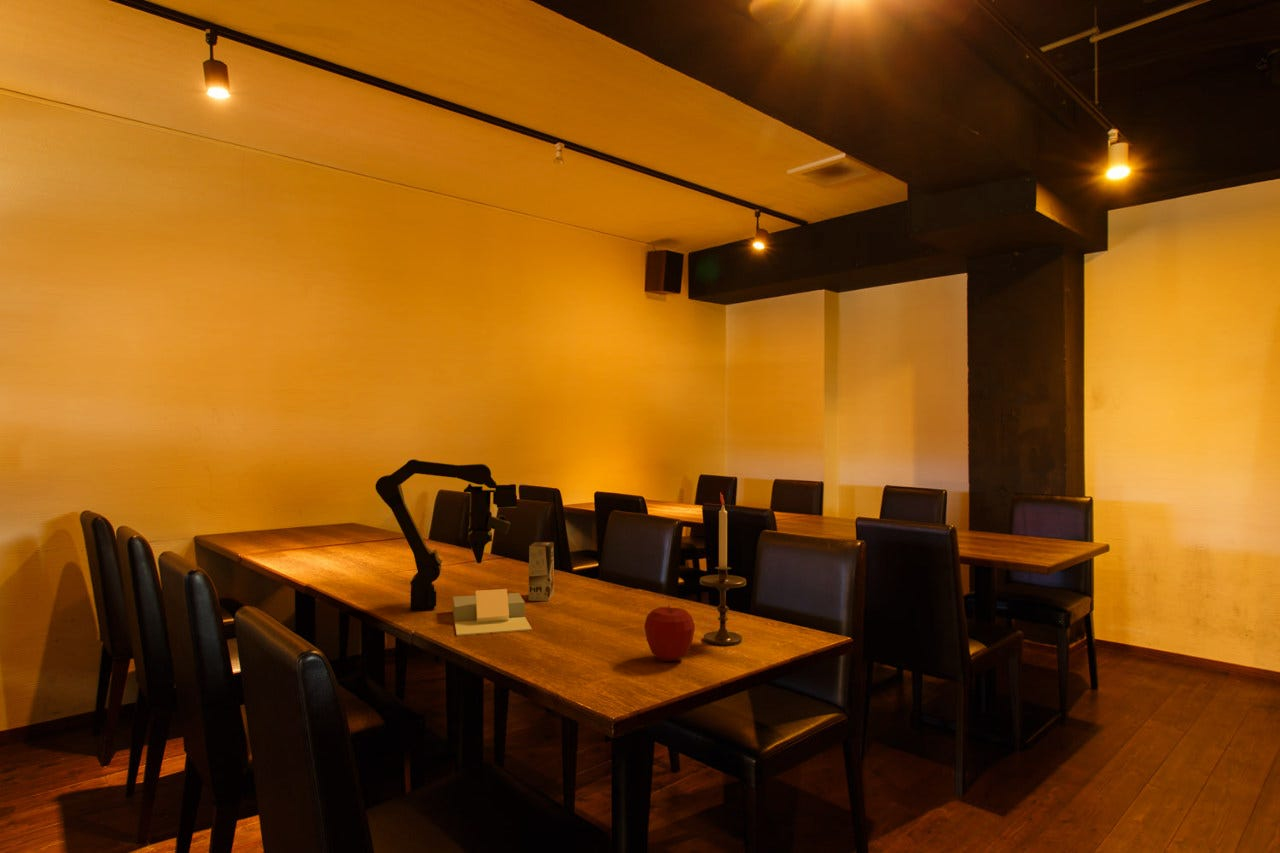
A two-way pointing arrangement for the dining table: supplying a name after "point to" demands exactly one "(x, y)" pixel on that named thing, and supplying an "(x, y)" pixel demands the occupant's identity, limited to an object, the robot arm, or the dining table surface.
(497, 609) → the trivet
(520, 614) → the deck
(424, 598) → the robot arm
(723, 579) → the candlestick
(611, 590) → the dining table surface
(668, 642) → the apple
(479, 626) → the mat
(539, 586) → the coffee box
